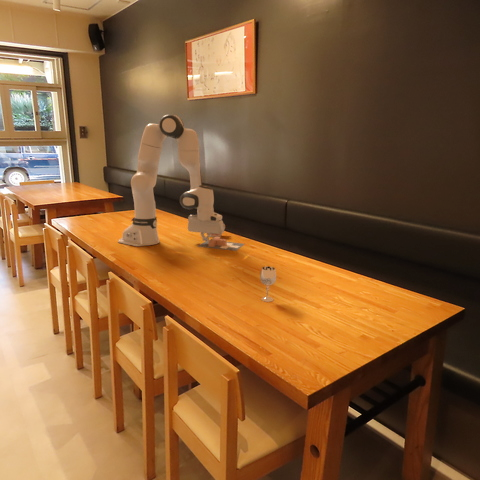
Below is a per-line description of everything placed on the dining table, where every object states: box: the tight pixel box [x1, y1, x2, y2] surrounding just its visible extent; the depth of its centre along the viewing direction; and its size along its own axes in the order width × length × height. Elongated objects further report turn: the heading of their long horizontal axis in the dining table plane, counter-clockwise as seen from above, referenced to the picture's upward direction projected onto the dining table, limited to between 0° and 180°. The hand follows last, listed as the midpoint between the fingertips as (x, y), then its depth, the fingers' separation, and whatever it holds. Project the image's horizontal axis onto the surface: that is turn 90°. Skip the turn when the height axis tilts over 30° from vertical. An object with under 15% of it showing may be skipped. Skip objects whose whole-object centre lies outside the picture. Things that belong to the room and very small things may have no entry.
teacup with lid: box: [206, 223, 226, 238], centre depth 234 cm, size 12×9×12 cm
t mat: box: [197, 241, 245, 252], centre depth 214 cm, size 22×15×1 cm
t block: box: [208, 236, 228, 247], centre depth 214 cm, size 8×10×3 cm
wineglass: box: [259, 265, 277, 303], centre depth 143 cm, size 6×6×12 cm
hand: (205, 240), depth 216 cm, fingers closed
